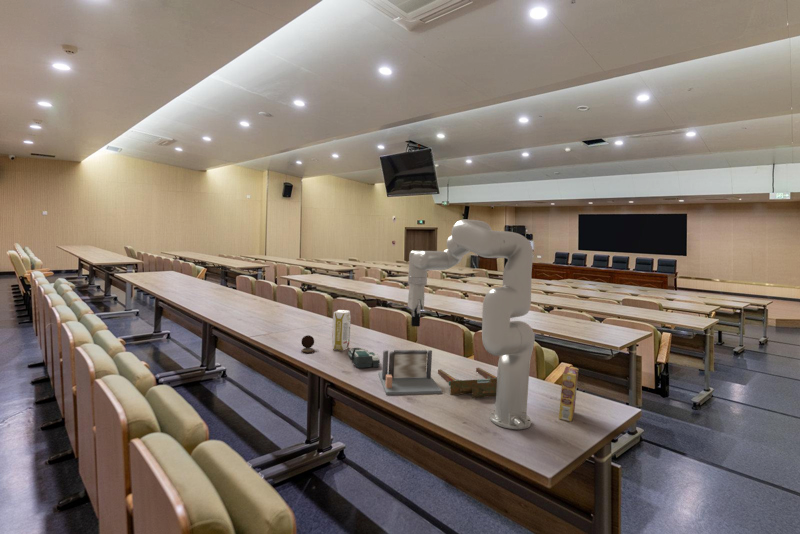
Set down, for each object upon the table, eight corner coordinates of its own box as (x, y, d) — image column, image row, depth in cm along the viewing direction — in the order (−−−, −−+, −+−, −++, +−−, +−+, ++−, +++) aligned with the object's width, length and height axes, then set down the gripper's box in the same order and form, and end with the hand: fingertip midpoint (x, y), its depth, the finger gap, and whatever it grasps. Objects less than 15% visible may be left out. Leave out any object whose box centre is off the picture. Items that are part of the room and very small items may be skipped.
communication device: (368, 353, 198) (369, 335, 197) (380, 368, 175) (381, 348, 174) (344, 354, 194) (345, 336, 194) (353, 369, 171) (354, 349, 171)
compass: (301, 354, 191) (301, 338, 190) (301, 349, 198) (301, 334, 198) (318, 353, 193) (319, 338, 192) (317, 349, 200) (318, 334, 200)
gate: (388, 378, 157) (390, 351, 157) (388, 376, 159) (389, 350, 159) (426, 377, 160) (427, 351, 159) (424, 375, 162) (425, 349, 161)
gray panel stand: (441, 393, 148) (443, 361, 147) (386, 394, 144) (387, 361, 143) (426, 373, 169) (428, 345, 169) (378, 374, 166) (379, 345, 165)
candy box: (572, 422, 128) (576, 375, 127) (558, 419, 130) (561, 372, 129) (575, 412, 136) (578, 368, 135) (561, 409, 138) (564, 365, 137)
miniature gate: (487, 363, 176) (526, 382, 147) (487, 376, 176) (526, 397, 147) (429, 366, 169) (458, 386, 140) (428, 379, 169) (457, 402, 140)
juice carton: (350, 347, 206) (351, 310, 205) (345, 351, 198) (346, 313, 196) (336, 345, 207) (337, 309, 206) (330, 350, 199) (331, 311, 198)
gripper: (404, 279, 170) (402, 322, 171) (412, 283, 155) (410, 330, 156) (422, 279, 171) (420, 322, 172) (431, 283, 156) (428, 330, 157)
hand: (415, 325), depth 164 cm, fingers closed
